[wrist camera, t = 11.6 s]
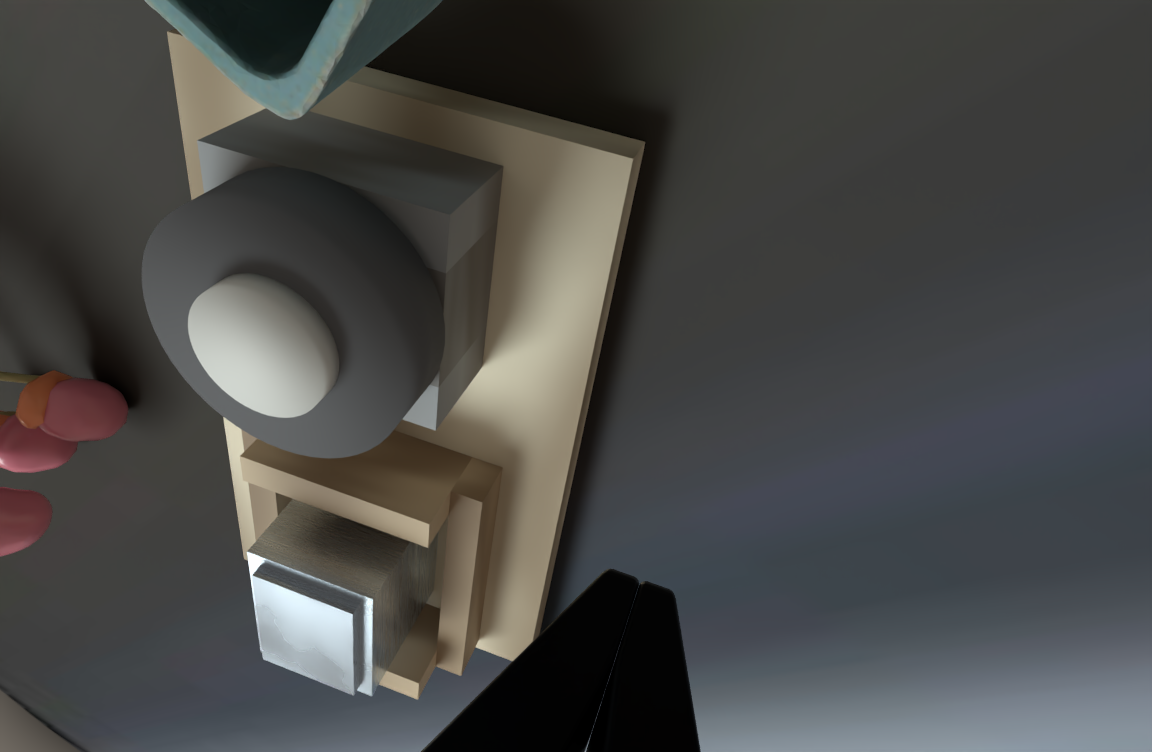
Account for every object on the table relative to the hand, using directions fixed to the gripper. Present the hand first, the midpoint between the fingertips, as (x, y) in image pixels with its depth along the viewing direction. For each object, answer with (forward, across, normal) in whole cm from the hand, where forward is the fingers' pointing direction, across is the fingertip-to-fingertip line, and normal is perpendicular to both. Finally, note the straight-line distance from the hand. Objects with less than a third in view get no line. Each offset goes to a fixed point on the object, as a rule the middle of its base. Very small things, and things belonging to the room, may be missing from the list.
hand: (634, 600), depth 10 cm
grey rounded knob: (+10, +9, +3) cm, 14 cm away
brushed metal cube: (+11, +9, +14) cm, 20 cm away
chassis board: (+12, +9, +9) cm, 17 cm away
